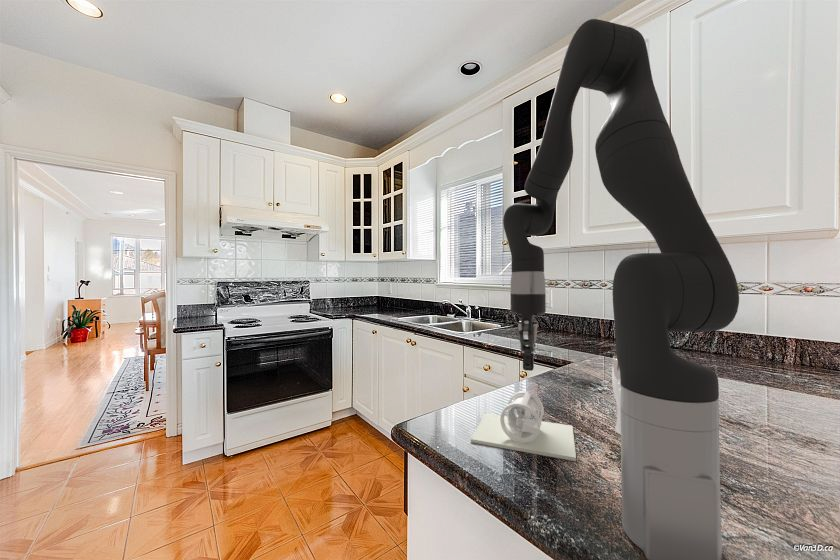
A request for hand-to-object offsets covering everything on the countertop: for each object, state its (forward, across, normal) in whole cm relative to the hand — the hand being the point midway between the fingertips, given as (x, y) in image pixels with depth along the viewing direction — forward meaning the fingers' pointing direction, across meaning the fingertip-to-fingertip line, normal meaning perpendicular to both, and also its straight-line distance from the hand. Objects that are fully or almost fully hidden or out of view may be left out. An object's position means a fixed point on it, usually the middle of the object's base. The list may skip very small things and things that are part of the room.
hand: (528, 369), depth 75 cm
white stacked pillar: (+7, 0, 0) cm, 7 cm away
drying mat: (+11, -9, 0) cm, 14 cm away
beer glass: (+11, 0, -20) cm, 23 cm away
